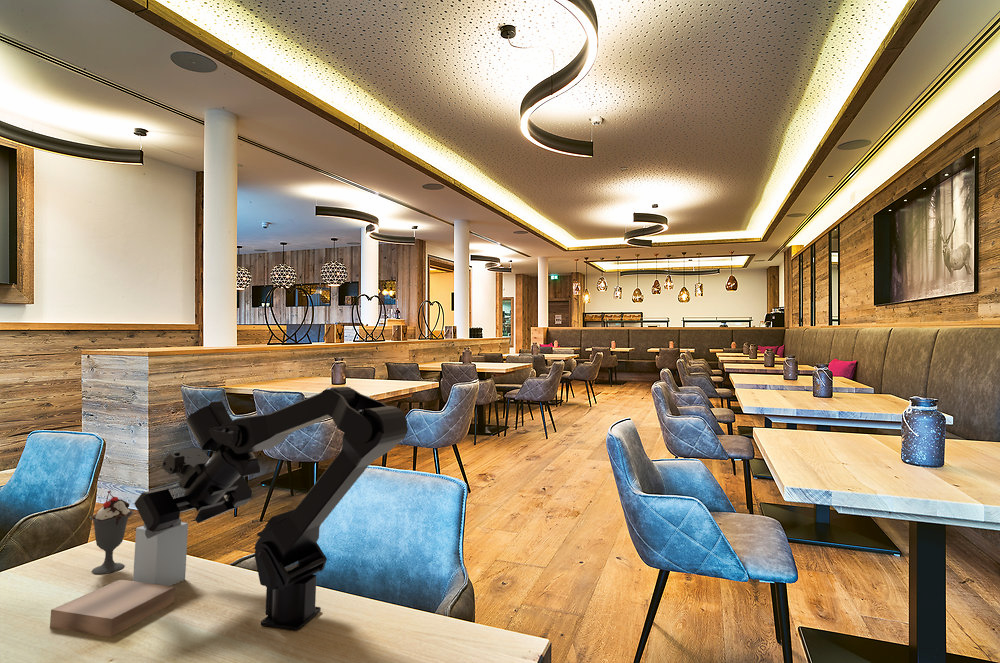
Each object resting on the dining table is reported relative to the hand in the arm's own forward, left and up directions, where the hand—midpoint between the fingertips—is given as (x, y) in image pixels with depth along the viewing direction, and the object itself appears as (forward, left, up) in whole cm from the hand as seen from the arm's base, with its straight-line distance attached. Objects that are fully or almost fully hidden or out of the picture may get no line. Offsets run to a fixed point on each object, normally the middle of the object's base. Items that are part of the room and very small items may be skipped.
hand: (173, 528), depth 92 cm
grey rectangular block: (+3, 0, -10) cm, 10 cm away
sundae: (+17, -3, -10) cm, 20 cm away
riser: (0, +11, -10) cm, 15 cm away
